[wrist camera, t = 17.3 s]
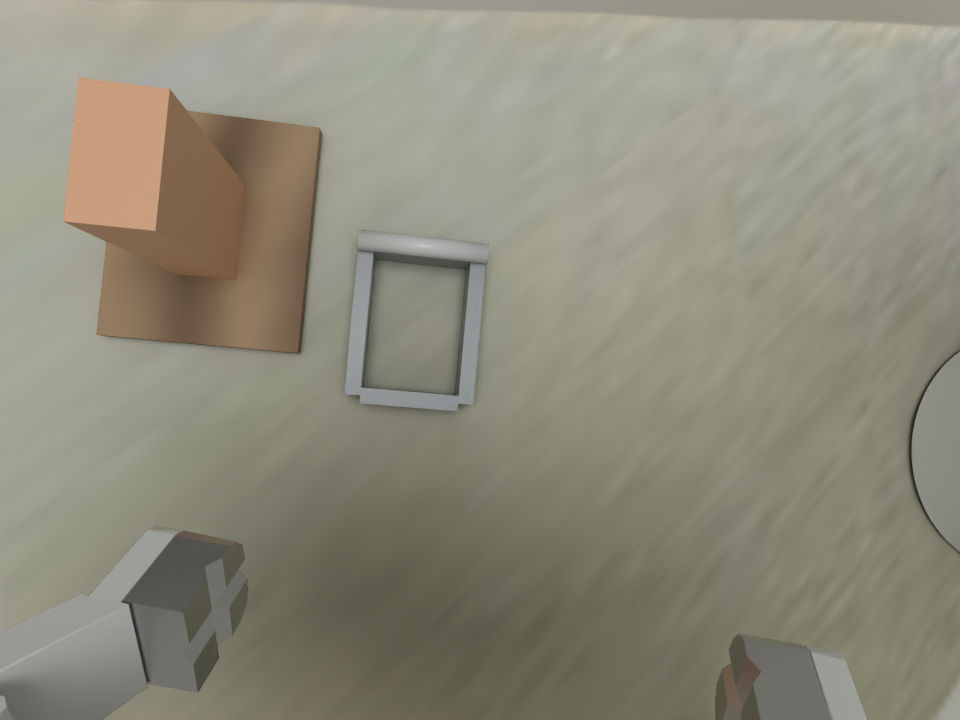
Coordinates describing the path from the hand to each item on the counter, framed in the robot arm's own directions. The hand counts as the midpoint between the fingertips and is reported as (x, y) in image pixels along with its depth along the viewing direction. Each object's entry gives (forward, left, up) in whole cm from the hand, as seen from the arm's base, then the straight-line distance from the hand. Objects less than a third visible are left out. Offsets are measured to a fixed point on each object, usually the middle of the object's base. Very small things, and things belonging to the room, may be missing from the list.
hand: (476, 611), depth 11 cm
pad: (+12, -11, -26) cm, 31 cm away
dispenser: (+1, -7, -26) cm, 27 cm away
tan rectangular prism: (+12, -11, -25) cm, 30 cm away
